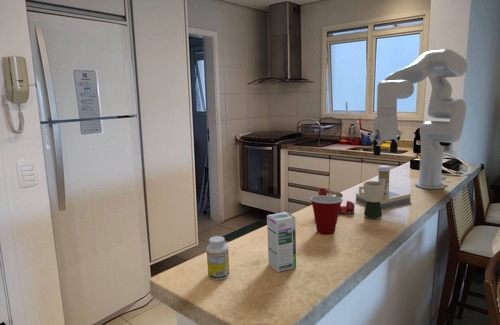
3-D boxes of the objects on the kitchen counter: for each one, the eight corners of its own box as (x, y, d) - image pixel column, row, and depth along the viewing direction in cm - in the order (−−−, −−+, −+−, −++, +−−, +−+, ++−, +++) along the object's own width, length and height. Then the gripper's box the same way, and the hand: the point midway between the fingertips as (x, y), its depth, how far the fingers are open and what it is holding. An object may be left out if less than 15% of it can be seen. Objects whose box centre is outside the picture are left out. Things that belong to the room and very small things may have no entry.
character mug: (390, 216, 132) (392, 183, 130) (384, 222, 127) (386, 187, 124) (361, 212, 139) (362, 179, 136) (355, 217, 133) (355, 183, 131)
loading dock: (385, 194, 161) (385, 187, 160) (410, 202, 149) (410, 193, 149) (355, 201, 152) (356, 193, 152) (379, 209, 141) (379, 200, 141)
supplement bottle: (218, 268, 97) (217, 233, 95) (233, 274, 93) (232, 237, 91) (203, 276, 92) (201, 239, 91) (218, 283, 89) (216, 245, 87)
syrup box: (277, 273, 93) (276, 220, 91) (267, 263, 99) (266, 213, 96) (296, 268, 95) (296, 216, 93) (285, 259, 101) (285, 210, 98)
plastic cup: (343, 227, 123) (344, 194, 121) (340, 239, 113) (341, 203, 111) (312, 224, 127) (312, 192, 125) (307, 236, 117) (307, 201, 115)
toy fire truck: (355, 214, 136) (355, 190, 135) (318, 214, 138) (319, 190, 136) (353, 211, 140) (354, 187, 138) (318, 211, 141) (318, 187, 139)
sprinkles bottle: (391, 198, 149) (392, 166, 146) (381, 199, 148) (382, 167, 145) (384, 195, 153) (386, 164, 151) (375, 196, 152) (376, 165, 150)
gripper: (393, 110, 151) (392, 150, 154) (363, 113, 143) (363, 155, 147) (409, 111, 145) (407, 152, 148) (378, 114, 137) (377, 157, 140)
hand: (385, 153), depth 147 cm, fingers open, 9 cm apart
